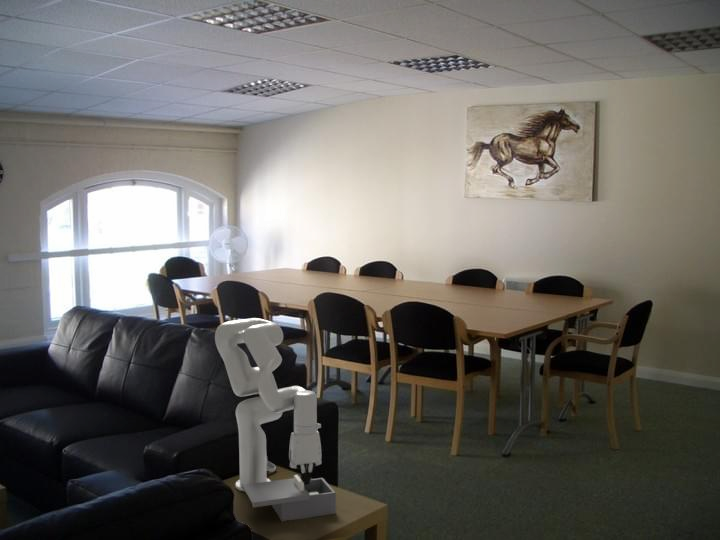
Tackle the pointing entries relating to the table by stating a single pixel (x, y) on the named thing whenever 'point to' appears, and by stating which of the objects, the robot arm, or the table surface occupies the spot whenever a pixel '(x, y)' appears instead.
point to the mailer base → (310, 502)
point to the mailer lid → (276, 492)
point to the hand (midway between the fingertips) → (305, 483)
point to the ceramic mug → (270, 466)
